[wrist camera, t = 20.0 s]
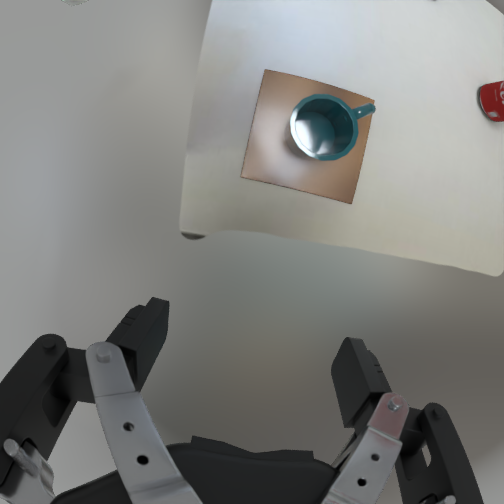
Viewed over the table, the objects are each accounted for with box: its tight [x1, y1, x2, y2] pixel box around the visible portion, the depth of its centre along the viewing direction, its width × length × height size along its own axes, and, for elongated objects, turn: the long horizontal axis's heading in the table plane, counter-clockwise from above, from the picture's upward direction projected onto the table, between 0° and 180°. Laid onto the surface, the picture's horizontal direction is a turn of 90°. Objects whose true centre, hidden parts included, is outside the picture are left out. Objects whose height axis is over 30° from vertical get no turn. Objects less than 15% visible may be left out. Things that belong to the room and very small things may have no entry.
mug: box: [284, 94, 376, 161], centre depth 26 cm, size 10×6×8 cm
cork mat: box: [241, 69, 374, 204], centre depth 30 cm, size 14×14×1 cm
